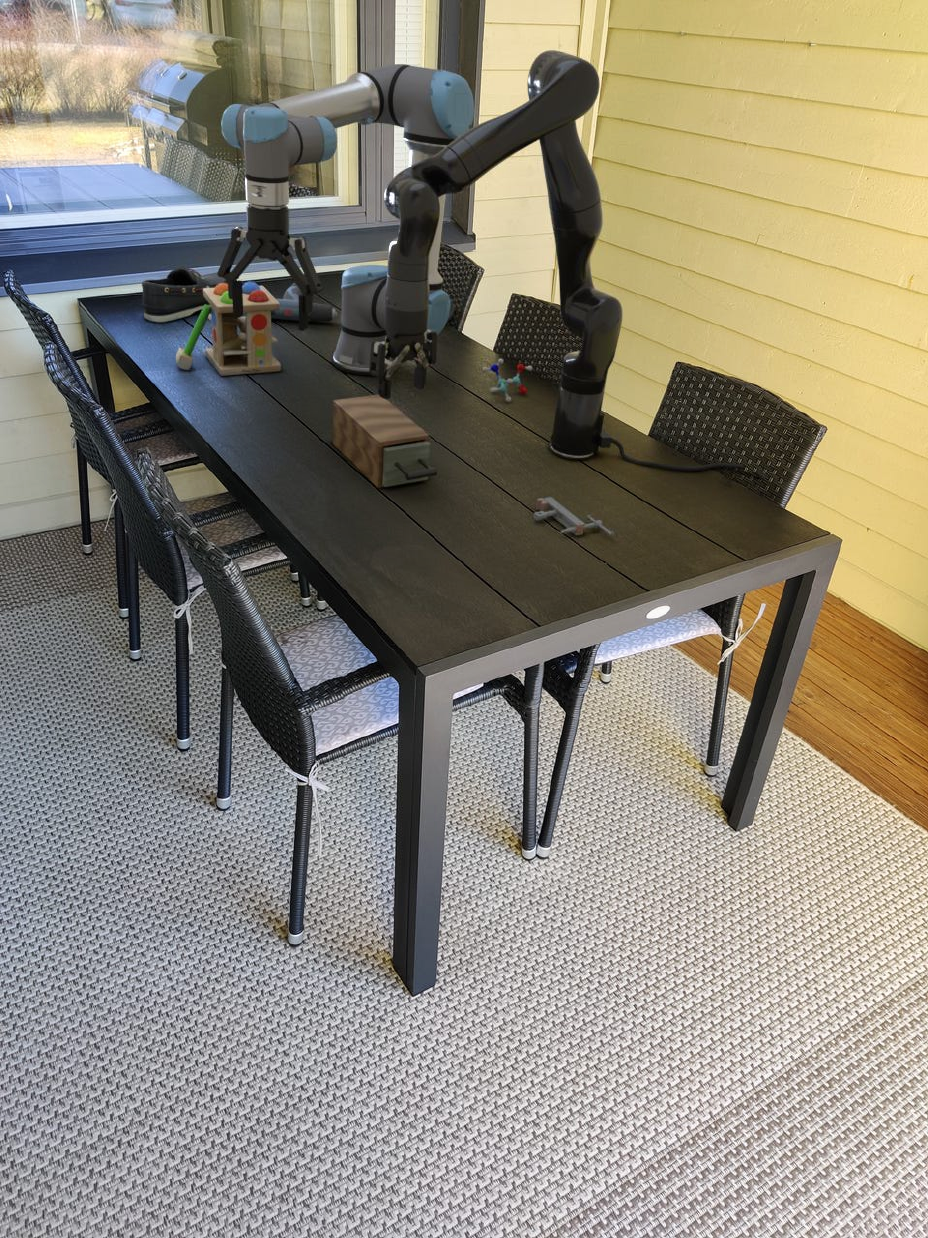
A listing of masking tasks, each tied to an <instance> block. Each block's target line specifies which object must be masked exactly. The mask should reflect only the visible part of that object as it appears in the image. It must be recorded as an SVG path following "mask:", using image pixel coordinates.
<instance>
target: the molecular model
mask: <svg viewBox="0 0 928 1238" xmlns="http://www.w3.org/2000/svg"><path fill="white" fill-rule="evenodd" d="M502 364H504V359H503V358H499V359H498V360H497V363H496V364H492V365H491V367H487V366H483V367H482V372H484V373H487V372H488V371H491V372H493V373H495V375H496V377H497V379H498V381H497V385H496V386H494V387H491V388H490V390H489V392H490V393H492V394H494V393H498V392H500V393H502V394H504V397H505V401H506V402H507V403H510V402H512V398H511V397H510V396H509V394H508V392H507V391H508V386H509V385H512V384H513V385H514V386H517V388H518V389H519V393H520V394H521V395H522V396H524V395H526V394H527V392H528V390H527V388H526V387H524V386H523V384H522V383H521V378H520V375H521V372H523V371H524V370H527V371H528V372H531V371H533V366H532V365H528V366H525V365H524V364H522V363H519V364H517V367H516V369H517V372H516V376H514V377H513V378H508V379H505V378H502V376H500V373H499V366H500V365H502Z"/></svg>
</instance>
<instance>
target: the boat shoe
mask: <svg viewBox="0 0 928 1238" xmlns="http://www.w3.org/2000/svg"><path fill="white" fill-rule="evenodd" d="M217 273H218V271H217V272H213V273H212V272H211V273H207V274H203V275H201V273H199V272H198V271H197V270H195V269H194V268H189V267H185V266H178V267H176V268H174V269H172V270H171V271H170V272H169V273H168V274H167V276H166V277H165V278H159V279H144V280H142V281H141V287H142V303H141V307H142V308H144V310H143V314H144V315H143V316H144V319H145V320H148V321H149V322H154V323H166V322H171V321H175V320H178V319H182V318H186V317H189V316H191V315H193V314H194V313H196V312H199V311H200V310H201V311H202V309H203V307H204V305H208V306H210V307H211V305H210V304H209V302H208V301H207V300H206V299H205V297H204V296H203V289H204V288H215V287H216V286H217V285H218V284H221V283H226V284H228V282H227V280H226V279H224V278H220V277H219V276H218V274H217Z"/></svg>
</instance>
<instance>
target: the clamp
mask: <svg viewBox="0 0 928 1238" xmlns="http://www.w3.org/2000/svg"><path fill="white" fill-rule="evenodd" d="M536 500H537V501H536V505H535V510H539V511H536V512H534V513H533V519H534V520H536V521H543V520H547V518H548V517H549V518H550V517H553V518H554V519H555V520H556V521H557V522H558V523H560V524H561V525H563V526H564V527H565V529H561V530H560V532H559V533H560V534H568V533H569V534H570V533H572V534H574V535H575V536H582V535H583V534H584V530H587V529H591V528H594V529H598V528H600V529H601V530H603V531H604V532H605V533H606V534H607V535H608V536H609V537H613V536H614V535H615V533H614V531H611V530H609V529H608V528H606V527H605V526H603V521H602V520H601V519H598V520H595V518H593V517H592V515H590V514H588V515H587V516H586V520H587V521H591V522H590V523H585V522H584V521H582V520H581V519H580V518H579V517H577V516H576V515H574V514H573V513H572V512H571V511H569V510H568V509H567V508H566V507H564V506H563V505H562V504H560V503H559V502H558V501H556V499H554V498H553V497H551V496H549V497H545V498H543V497H540V498H537V499H536Z"/></svg>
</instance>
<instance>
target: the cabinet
mask: <svg viewBox="0 0 928 1238" xmlns="http://www.w3.org/2000/svg"><path fill="white" fill-rule="evenodd" d="M419 440H421V442H426V441H428V442H429V441H430V434H428V432H426V431H425V430H424V429H423V428H421V427H420V426H419V425H417V423H415V421H413V420H412V419H411V418H409V417H408V416H407V415H406V414H404V413H403V412H402V411H401V410H399V408H397V407H396V406H395V405H394V404H393V403H391V402H390V401H389V399H387V400H386V399H383V398H381V397H380V396H379V394H378V393H377V394H371V395H370V394H369V395H364V396H363V395H362V396H356V397H355V396H354V397H349V398H341V399H333V400H332V444H333V445H334V446H335V447H336V448H337V449H338V450H339V452H341V453H342V454H343V455H344V456H345V457H346V458H347V459H348V460H349V461H350V462H351V463H352V464H353V465H354V466H355V467H356V468H357V469H358V470H359V471H360V472H361V473H362V474H363V475H364V476H365V478H367V479H368V481H370V482H371V483H372V484H373V485H374V486H375V487H376V488H378V489H379V488H385V487H384V486H383V485H382V480H383V479H382V465H383V446H387V445H393V444H400V443H406V442H412V441H419ZM429 443H430V442H429Z"/></svg>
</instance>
